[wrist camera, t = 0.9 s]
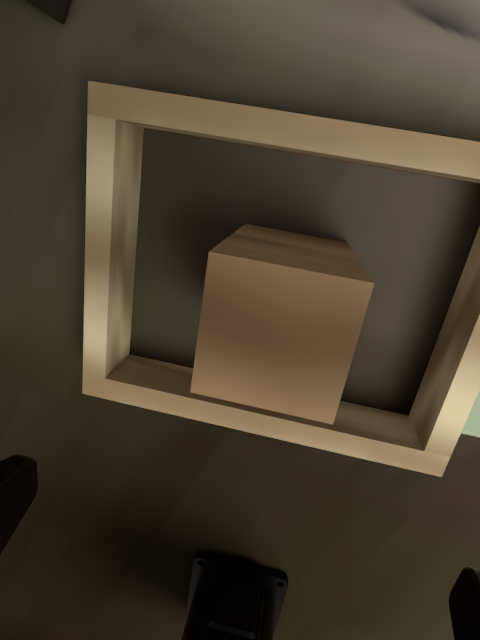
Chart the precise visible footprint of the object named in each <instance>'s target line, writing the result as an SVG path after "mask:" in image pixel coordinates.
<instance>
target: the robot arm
mask: <svg viewBox="0 0 480 640" xmlns="http://www.w3.org/2000/svg"><path fill="white" fill-rule="evenodd" d="M37 489H38V478H37V462H36V460H35V459H34V458H33V457H29V456H25V455H20V454H16V455H13V456H11V457H8V458H6V459H4V460H2V461H0V554H1V553H2V551H3V549H4V548H5V546H6V544H7V543H8V541H9V539H10V538H11V536H12V534H13V533H14V531H15V529H16V528H17V526H18V524H19V523H20V521H21V519H22V518H23V516H24V514H25V513H26V511H27V509H28V508H29V506H30V504H31V503H32V501H33V499H34V498H35V495H36V493H37ZM287 587H288V577H287V576H286V575H284V574H282V573H278V572H274V571H271V570H267V569H263V568H259V567H255V566H252V565H248V564H244V563H240V562H236V561H233V560H229V559H225V558H221V557H217V556H214V555H210V554H206V553H201V552H200V553H197V554H196V556H195V559H194V564H193V570H192V576H191V582H190V588H189V594H188V600H187V606H186V612H185V616H186V618H187V621H186V625H185V628H184V632H183V636H182V640H273V635H274V631H275V628H276V624H277V621H278V618H279V614H280V611H281V608H282V604H283V601H284V597H285V594H286V591H287ZM449 608H450V614H451V621H452V627H453V633H454V639H455V640H480V569H477V568H473V567H465V568H464V569H463V570H462V572H461V573H460V575H459V577H458V579H457V581H456V583H455V584H454V586H453V588H452V590H451V592H450V596H449Z"/></svg>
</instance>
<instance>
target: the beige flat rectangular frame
mask: <svg viewBox="0 0 480 640" xmlns="http://www.w3.org/2000/svg"><path fill="white" fill-rule="evenodd" d="M144 128H147V129H153V130H159V131H165V132H171V133H177V134H183V135H189V136H195V137H201V138H207V139H213V140H220V141H226V142H232V143H238V144H244V145H250V146H256V147H262V148H268V149H274V150H280V151H286V152H292V153H298V154H304V155H310V156H316V157H322V158H328V159H334V160H340V161H346V162H352V163H358V164H364V165H370V166H377V167H383V168H389V169H395V170H401V171H407V172H413V173H419V174H425V175H431V176H437V177H443V178H449V179H455V180H461V181H467V182H473V183H479V184H480V142H477V141H471V140H465V139H458V138H452V137H445V136H439V135H433V134H426V133H420V132H413V131H407V130H401V129H394V128H388V127H381V126H375V125H369V124H362V123H356V122H349V121H343V120H337V119H330V118H324V117H317V116H311V115H305V114H298V113H292V112H285V111H279V110H273V109H266V108H260V107H254V106H247V105H241V104H234V103H228V102H222V101H215V100H209V99H202V98H196V97H190V96H183V95H177V94H170V93H164V92H158V91H151V90H145V89H138V88H132V87H126V86H119V85H113V84H106V83H100V82H94V81H88V109H87V167H86V224H85V282H84V339H83V394H86V395H91V396H95V397H99V398H104V399H108V400H112V401H117V402H121V403H125V404H129V405H134V406H138V407H142V408H147V409H151V410H155V411H160V412H164V413H168V414H172V415H177V416H181V417H185V418H190V419H194V420H198V421H203V422H207V423H211V424H215V425H220V426H224V427H228V428H233V429H237V430H241V431H246V432H250V433H254V434H258V435H263V436H267V437H271V438H276V439H280V440H284V441H289V442H293V443H297V444H301V445H306V446H310V447H314V448H319V449H323V450H327V451H332V452H336V453H340V454H344V455H349V456H353V457H357V458H362V459H366V460H370V461H375V462H379V463H383V464H387V465H392V466H396V467H400V468H405V469H409V470H413V471H417V472H422V473H426V474H430V475H435V476H439V477H442V475H443V473H444V470H445V468H446V466H447V463H448V461H449V459H450V457H451V454H452V452H453V450H454V447H455V445H456V443H457V441H458V438H459V436H460V434H461V431H462V429H463V427H464V425H465V422H466V420H467V418H468V415H469V413H470V411H471V409H472V406H473V404H474V402H475V399H476V397H477V395H478V393H479V390H480V226H479V229H478V231H477V234H476V237H475V239H474V242H473V245H472V247H471V250H470V253H469V256H468V258H467V261H466V264H465V266H464V269H463V272H462V274H461V277H460V280H459V282H458V285H457V288H456V290H455V293H454V296H453V298H452V301H451V304H450V307H449V309H448V312H447V315H446V317H445V320H444V323H443V325H442V328H441V331H440V333H439V336H438V339H437V341H436V344H435V347H434V350H433V352H432V355H431V358H430V360H429V363H428V366H427V368H426V371H425V374H424V376H423V379H422V382H421V384H420V387H419V390H418V392H417V395H416V398H415V401H414V403H413V406H412V409H411V411H410V414H409V416H407V415H403V414H398V413H394V412H389V411H385V410H380V409H376V408H371V407H366V406H362V405H357V404H353V403H348V402H344V401H340V403H339V406H338V410H337V413H336V416H335V420H334V423H333V425H332V424H328V423H324V422H319V421H315V420H310V419H306V418H302V417H297V416H293V415H288V414H284V413H279V412H275V411H271V410H266V409H262V408H257V407H253V406H249V405H244V404H240V403H235V402H231V401H227V400H222V399H218V398H213V397H209V396H204V395H200V394H196V393H191V392H190V391H191V383H192V375H193V368H190V367H185V366H181V365H176V364H171V363H167V362H162V361H158V360H153V359H149V358H144V357H140V356H135V355H131V354H130V338H131V323H132V307H133V292H134V276H135V261H136V245H137V230H138V214H139V199H140V183H141V168H142V152H143V137H144Z"/></svg>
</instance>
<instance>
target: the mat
mask: <svg viewBox="0 0 480 640" xmlns="http://www.w3.org/2000/svg"><path fill="white" fill-rule="evenodd" d="M461 433H463V434H467V435H472V436H476V437H480V390H479V393H478V395H477V397H476V399H475V402H474V404H473V406H472V409H471V411H470V413H469V415H468V418H467V420H466V422H465V425H464V427H463V429H462V431H461Z"/></svg>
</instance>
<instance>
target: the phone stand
mask: <svg viewBox="0 0 480 640" xmlns="http://www.w3.org/2000/svg"><path fill="white" fill-rule="evenodd" d="M26 1H28V2H29V3H31V4H32V5H34V6H36V7H37V8H39V9H40V10H42V11H43V12H45V13H47V14H48V15H50V16H51V17H53V18H54V19H56V20H58V21H59V22H61V23H62V24H64V23H65V20H66V17H67V14H68V10H69V7H70V4H71V1H72V0H26Z"/></svg>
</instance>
